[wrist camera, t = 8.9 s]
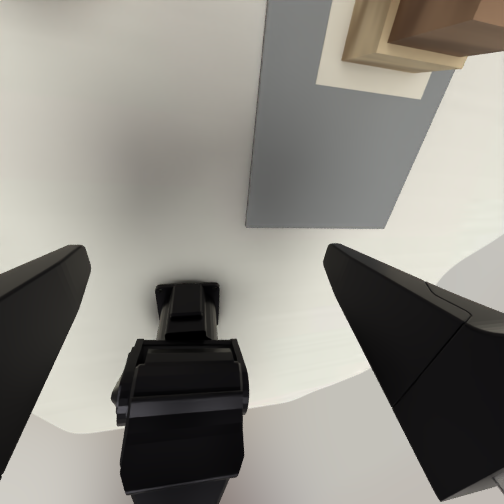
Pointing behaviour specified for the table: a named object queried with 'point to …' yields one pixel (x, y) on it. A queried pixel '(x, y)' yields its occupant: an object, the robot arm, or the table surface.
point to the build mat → (331, 124)
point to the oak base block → (385, 54)
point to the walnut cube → (450, 26)
